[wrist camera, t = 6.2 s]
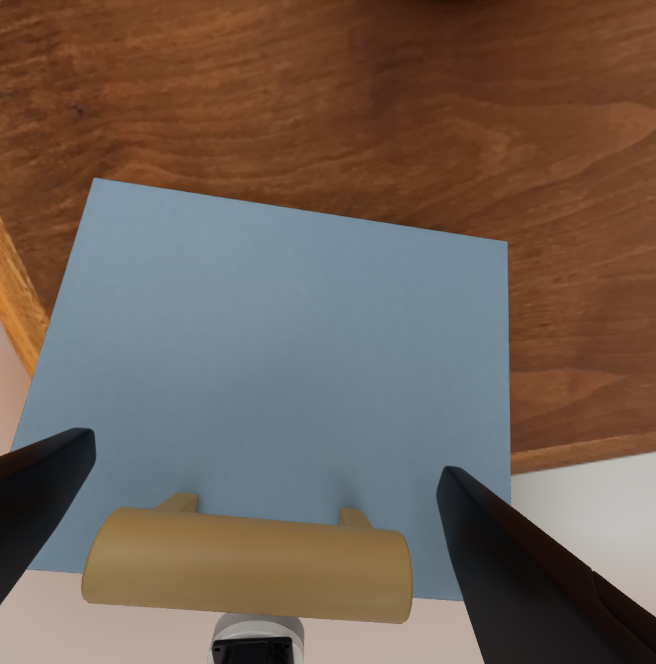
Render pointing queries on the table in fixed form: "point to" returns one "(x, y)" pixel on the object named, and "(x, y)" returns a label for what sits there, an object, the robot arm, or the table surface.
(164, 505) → the lid
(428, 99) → the table surface
